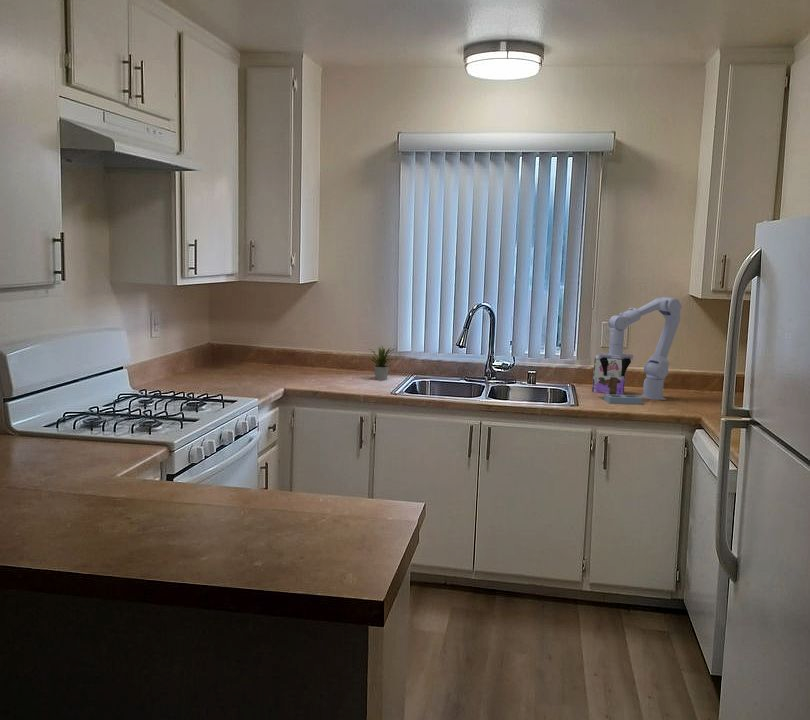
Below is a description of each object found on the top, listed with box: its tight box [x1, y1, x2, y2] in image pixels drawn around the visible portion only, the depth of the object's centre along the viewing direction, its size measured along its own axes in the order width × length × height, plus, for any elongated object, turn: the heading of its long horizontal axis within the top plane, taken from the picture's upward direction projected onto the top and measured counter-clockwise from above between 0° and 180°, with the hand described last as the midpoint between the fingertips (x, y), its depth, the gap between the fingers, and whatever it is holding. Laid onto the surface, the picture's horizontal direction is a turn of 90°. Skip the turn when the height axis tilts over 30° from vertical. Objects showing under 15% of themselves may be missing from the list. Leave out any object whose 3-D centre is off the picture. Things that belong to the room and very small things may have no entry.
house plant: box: [369, 345, 395, 381], centre depth 372 cm, size 14×14×16 cm
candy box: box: [591, 354, 627, 395], centre depth 358 cm, size 14×6×16 cm, turn 73°
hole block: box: [603, 393, 644, 405], centre depth 336 cm, size 7×14×3 cm, turn 94°
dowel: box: [609, 377, 617, 395], centre depth 343 cm, size 3×3×9 cm
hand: (613, 375), depth 342 cm, fingers open, 7 cm apart
